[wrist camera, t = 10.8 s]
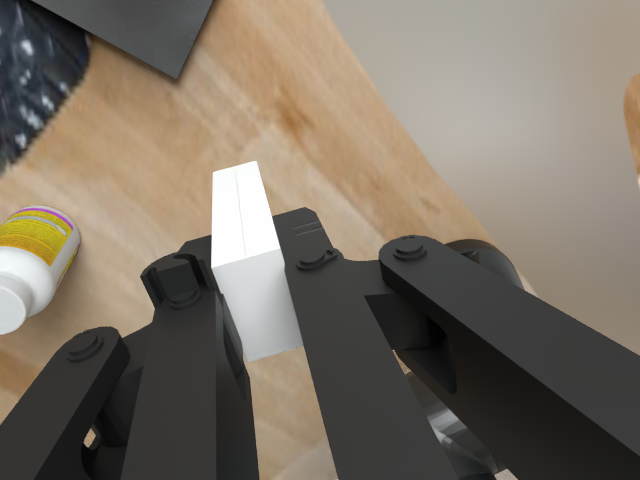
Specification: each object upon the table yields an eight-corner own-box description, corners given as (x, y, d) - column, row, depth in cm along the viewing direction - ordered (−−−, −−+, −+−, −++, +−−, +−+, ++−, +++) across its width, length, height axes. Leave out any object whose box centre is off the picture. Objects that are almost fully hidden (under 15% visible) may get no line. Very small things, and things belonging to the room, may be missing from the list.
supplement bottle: (-3, 204, 43) (-77, 275, 32) (74, 201, 44) (27, 268, 33) (16, 266, 46) (-46, 350, 35) (87, 261, 47) (49, 340, 36)
